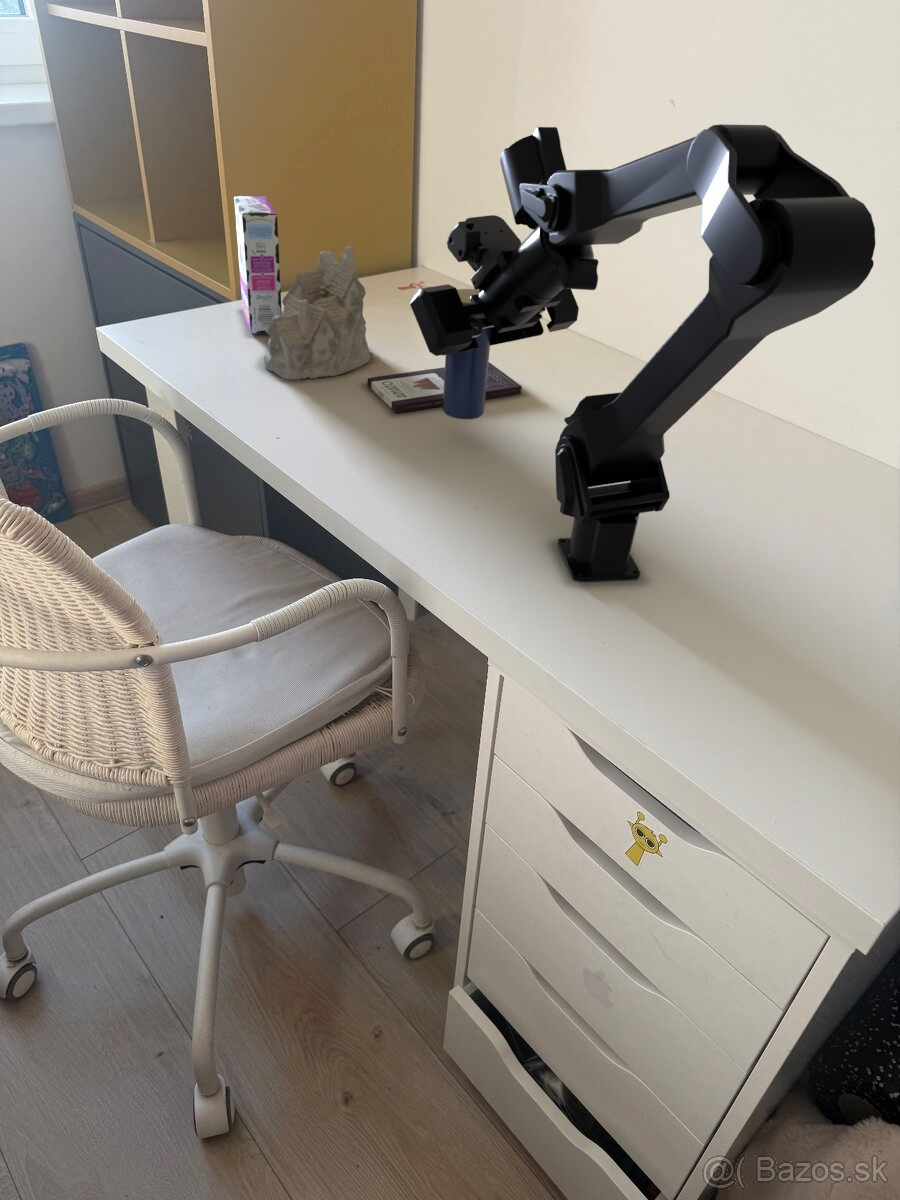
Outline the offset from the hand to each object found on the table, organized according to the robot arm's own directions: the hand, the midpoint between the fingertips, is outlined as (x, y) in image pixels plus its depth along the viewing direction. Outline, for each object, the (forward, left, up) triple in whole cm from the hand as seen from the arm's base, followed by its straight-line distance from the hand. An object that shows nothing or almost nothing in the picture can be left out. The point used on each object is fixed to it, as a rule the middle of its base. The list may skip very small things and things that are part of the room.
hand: (460, 347), depth 92 cm
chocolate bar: (+13, -1, -11) cm, 17 cm away
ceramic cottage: (+25, +16, -11) cm, 32 cm away
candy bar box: (+38, +23, -11) cm, 46 cm away
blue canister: (-1, -1, -7) cm, 7 cm away
